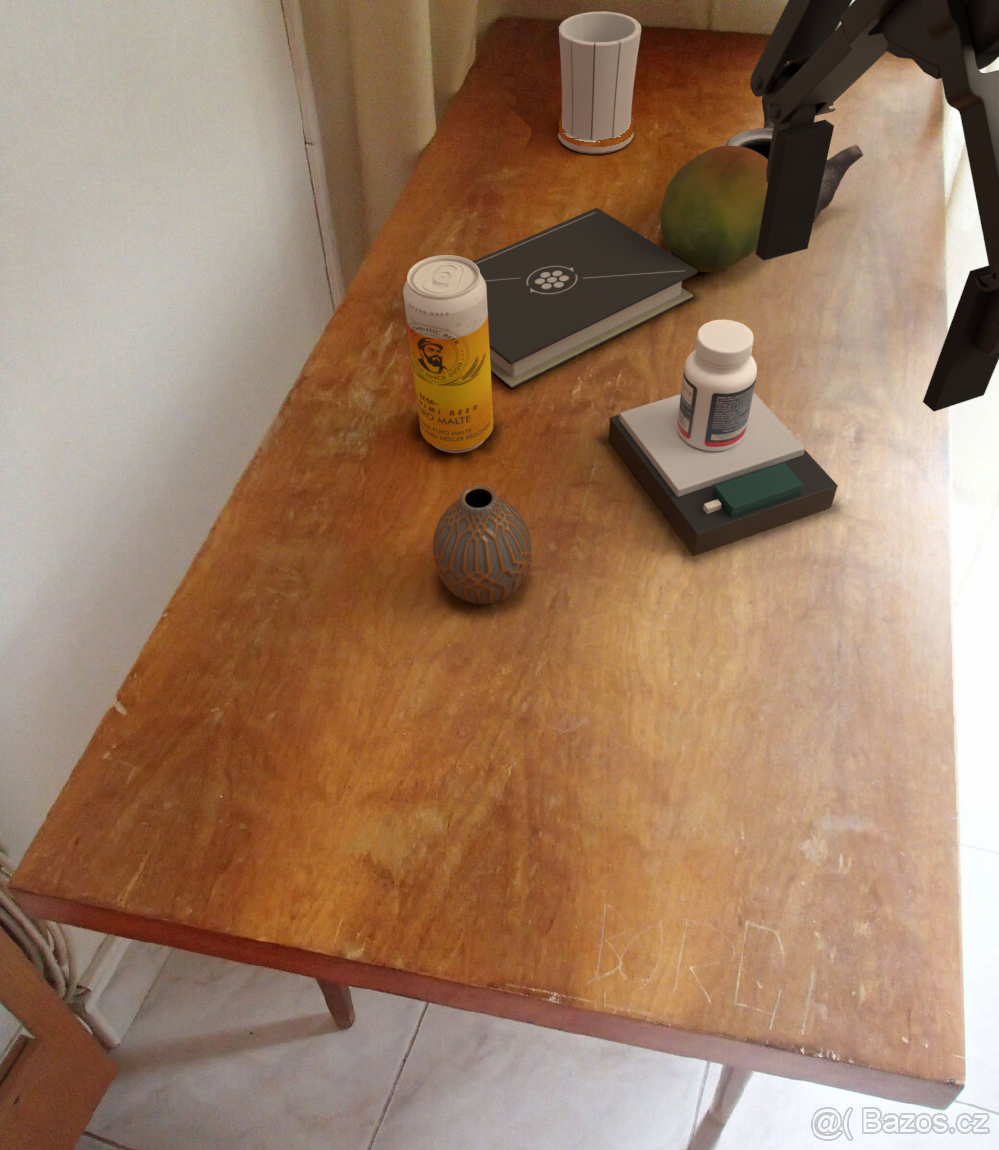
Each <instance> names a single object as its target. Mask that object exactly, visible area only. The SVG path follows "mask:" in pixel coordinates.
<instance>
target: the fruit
mask: <svg viewBox="0 0 999 1150" xmlns="http://www.w3.org/2000/svg"><path fill="white" fill-rule="evenodd" d="M767 163H768V159H767V158H765V157H764V156H763V155H761V154H759V153H757V152H756V151H754V150H751V149H749V148H745V147H740V146H726V145H720V146H716V147H713V148H710V149H708V150H706V151H703V152H702V153H699V154H698V155H696V156H695V157H693V158H692V159H690V160H689V161H687V162H686V163H685V164H683V165H682V166H681V167H680V168H679V169H678V170H677V171H676V173H675V174H674V175H673V176H672V178H671V180H670V181H669V183H668V185H667V186H666V189H665V192H664V195H663V198H662V202H661V205H660V206H661V207H660V212H659V223H660V231H661V236H662V238H663V241H664V243H665V245H666V247H667V249H668V252H669V253H670V254H672V255H674V256H675V257H677V258H678V259H680V260H682V261H683V262H685V263H686V264H688V265H690V266H691V267H693V268H694V269H696V270H697V272H702V273H713V272H714V273H715V272H718V271H722V270H725V269H728V268H730V267H732V266H734V265H736V264H738V263H739V262H740V261H742V260H744V259H745V258H747V257H749V256H750V255H752V254H753V253H754V252H756V249H757V244H758V238H759V232H760V227H761V221H762V215H763V210H764V204H765V198H766V192H767V187H768V183H767V177H766V169H767Z"/></svg>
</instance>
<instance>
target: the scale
mask: <svg viewBox="0 0 999 1150" xmlns="http://www.w3.org/2000/svg"><path fill="white" fill-rule="evenodd" d="M680 397H681V393H678V394H675V395H673V396H669V397H666V398H663V399H660V400H657V401H654V402H650V403H647V404H644V405H641V406H637V407H634V408H631V409H626V410H624V411H621V412H619V414H617V415H614V416H611V417H609V426H608V427H609V428H608V441H609V443H610V444H611V445H612V446H613V448H614V449H615V451H616V452H617V453H618V455H619V456H620V457H621V459H622V460H623V462H624V463H625V464H626V465H627V467H628V469H630V471H631V472H632V474H633V475H634V476H635V478H636V479H637V480H638V482H639V483H640V485H641V486H642V487H643V489H644V490H645V491H646V493H647V494H648V495H649V497H650V498H651V499H652V501H653V503H654V504H655V505H656V507H657V508H658V509H659V510H660V512H661V514H662V515H663V516H664V517H665V519H666V520H667V522H668V523H669V524H670V526H671V527H672V528H673V530H674V531H675V532H676V534H677V535H678V536H679V538H680V539H681V541H682V542H683V543H684V544H685V546H686V547H687V549H688V550H689V552H690V553H691V554H692V555H693V556H696V555H699V554H703V553H705V552H708V551H711V550H714V549H716V548H720V547H723V546H725V545H728V544H730V543H734V542H736V541H739V540H742V539H745V538H749V537H750V536H754V535H756V534H759V533H762V532H765V531H768V530H771V529H774V528H777V527H780V526H782V525H785V524H787V523H791V522H794V521H796V520H799V519H802V518H805V517H808V516H810V515H813V514H816V513H819V512H823V511H825V510H828V509H831V508H832V505H833V502H834V500H835V496H836V493H837V490H838V487H839V486H838V484H837V483H836V481H835V480H833V479H832V477H831V476H830V475H829V474H828V472H826V470H824V469H823V467H821V466H820V464H819V463H818V462H817V461H816V460H815V459H814V457H813V456H811V454H810V453H809V451H807V450H806V446H804V444H802V442H801V441H800V440H799V439H798V438H797V437H796V436H795V435H794V434H793V433H792V432H791V431H790V429H788V427H787V426H786V425H785V424H784V423H783V422H782V420H780V418H779V417H777V415H776V414H775V413H774V412H773V411H772V410H771V409H770V408H769V407H768V405H766V404H765V402H764V401H763V400H762V399H761V398H760V397H759V396H758V395H757V394H756V392H754V391H753V396H752V402H751V407H750V412H749V417H748V423H747V428H746V432H745V435H744V437H743V439H742V440H741V441H740V442H739V443H738V444H737V445H736V446H734V447H732V448H730V449H727V450H722V451H706V450H702V449H699V448H696V447H693V446H691V445H690V444H688V443H687V442H686V441H684V440H683V439H682V437H681V436H680V434H679V432H678V428H677V422H678V413H679V405H680Z"/></svg>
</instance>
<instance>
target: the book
mask: <svg viewBox="0 0 999 1150" xmlns="http://www.w3.org/2000/svg"><path fill="white" fill-rule="evenodd" d="M471 261H472V260H471ZM472 262H473V263H475V264H476V265H477V267H478V268H479V270H480V274H481V276H482V277H483V279H484V280H485V283H486V289H487V309H488V328H489V347H490V366H491V374H493V375H495V377H497V378H499V380H501V381H502V382H503V383H504V384H506V386H507V387H509V388H510V389H515V388H518V387H519V386H522V385H523V384H526V383H527V382H529V381H531V380H533V379H535V378H537V377H540V376H541V375H543V374H545V373H547V372H550V371H551V370H553V369H556V368H557V367H559V366H561V365H563V364H565V363H568V362H570V361H571V360H573V359H575V358H577V357H579V356H582V355H584V354H586V353H587V352H589V351H591V350H594V349H595V348H597V347H599V346H601V345H603V344H605V343H607V342H610V341H611V340H613V339H615V338H618V337H619V336H621V335H623V334H625V333H627V332H629V331H632V330H633V329H635V328H637V327H639V326H641V325H644V324H645V323H647V322H649V321H651V320H654V319H655V318H657V317H660V316H661V315H663V314H665V313H667V312H669V311H672V310H673V309H675V308H677V307H679V306H681V305H682V304H685V303H687V302H688V301H691V300H693V299H694V297H695V296H694V294H692V293H691V292H690V291H688V290H686V289H685V288H683V287H682V286H683V281H686V280H687V279H689V278H691V277H693V276H695V275H697V274H698V271H697V270H696V269H694V268H693V267H691V266H690V265H688V264H686V263H685V262H683V261H682V260H680V259H678V258H677V257H675V256H674V255H672V254H671V253H670V251H667V250H666V249H665V248H662V247H661V246H660V245H658V244H657V243H655V242H653V241H652V240H650V239H649V238H646V237H645V236H644V235H642V234H640V233H639V232H637V231H635V230H634V229H632V228H631V227H629V226H627V225H626V224H624V223H623V222H621V221H620V220H618V219H616V218H615V217H613V216H612V215H610V214H608V213H606V211H603V210H602V209H601V208H599V207H594V208H592V209H590V210H587V211H585V212H583V213H581V214H578V215H575V216H574V217H571V218H569V219H567V220H565V221H562V222H560V223H558V224H555V225H553V226H551V227H549V228H546V229H544V230H541V231H539V232H537V233H535V234H533V235H530V236H527V237H525V238H523V239H521V240H519V241H516V242H514V243H511V244H509V245H507V246H505V247H503V248H500V249H498V250H496V251H493V252H491V253H488V254H486V255H483V256H482V257H480V258H477V259H475V260H473V261H472Z"/></svg>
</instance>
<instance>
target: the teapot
mask: <svg viewBox="0 0 999 1150" xmlns="http://www.w3.org/2000/svg"><path fill="white" fill-rule="evenodd" d="M769 105H770V103H769V102H768V100H767V99H766V97H765V96H761V106H762V112H763V120H764V123H763V127H762V128H761V127H758V128H749V129H746V130H743V131H741V132H737V133H735V134H734V135H733V136H731V137H729V139H728V140H727V142H726V143H725V146H740V147H745V148H749V149H751V150H754V151H756V152H757V153H759V154H761V155H763V156H764V157H765V158H767V159H768V157H769V153H770V146H771V140H772V134H773V128H774V124H773V123H772V122H771V120H770V117H769ZM863 156H864V152H863V151H862V150H861V149H860V147H859V145H858V144H853V145H851V146H849V147H847V148H844V149H842V150H841V151H839V152H837V153H835V154H834V155H833V156H832V157H830V158H829V159H828V158H827V161H826V166H825V171H824V175H823V180H822V184H821V189H820V193H819V198H818V203H817V207H816V212H815V216H814V221H813V223H814V224H815V222H816V221H817V219H818V218H819V216H820V214H821V212H822V211H823V210H825V209H826V208H828V207H829V206H830V205H831V203H832V201H833V200H834V197H835V194H836V192H837V190H838V189H839V186H840V183H841V181H842V180H843V178H844V176H845V174H846V173H847V171H848V170H849V168H850V167H851V166H853V165H854V164H855V163H856V162H858V161H859V160H860V159H861V158H863ZM768 160H769V159H768ZM817 217H818V218H817ZM815 220H816V221H815Z"/></svg>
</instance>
